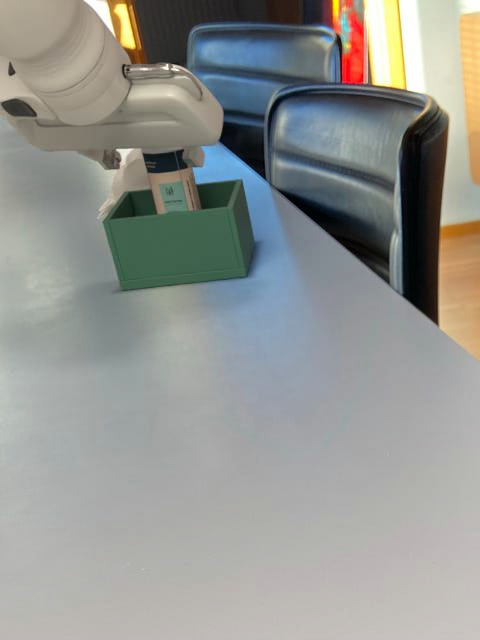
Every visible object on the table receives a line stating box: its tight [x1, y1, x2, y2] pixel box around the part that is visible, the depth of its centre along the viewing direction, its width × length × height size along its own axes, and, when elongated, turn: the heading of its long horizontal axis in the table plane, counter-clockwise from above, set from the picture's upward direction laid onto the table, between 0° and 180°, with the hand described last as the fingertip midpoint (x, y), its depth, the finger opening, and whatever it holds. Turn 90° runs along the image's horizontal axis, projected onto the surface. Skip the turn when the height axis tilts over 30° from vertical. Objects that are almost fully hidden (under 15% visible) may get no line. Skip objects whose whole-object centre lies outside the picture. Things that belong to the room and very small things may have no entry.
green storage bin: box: [102, 178, 256, 291], centre depth 111 cm, size 13×13×7 cm
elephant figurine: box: [96, 148, 151, 220], centre depth 124 cm, size 10×12×9 cm
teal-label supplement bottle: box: [141, 147, 202, 214], centre depth 109 cm, size 5×5×12 cm
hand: (155, 162), depth 105 cm, fingers open, 8 cm apart
